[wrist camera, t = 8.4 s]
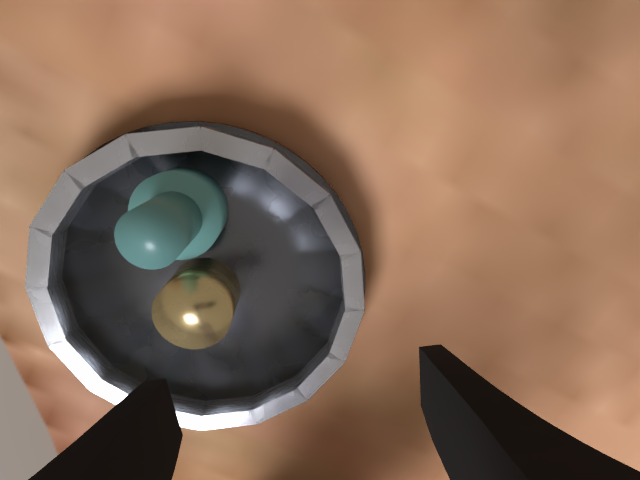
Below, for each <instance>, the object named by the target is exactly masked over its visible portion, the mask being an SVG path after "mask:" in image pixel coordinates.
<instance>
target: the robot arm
mask: <svg viewBox="0 0 640 480" xmlns="http://www.w3.org/2000/svg"><path fill="white" fill-rule="evenodd" d="M419 358H420V390H421V407H422V410H423V413H424V416H425V419H426V423H427V426H428V429H429V432H430V435H431V437H432V440H433V443H434V445H435V447H436V450H437V452H438V454H439V456H440V458H441V461H442V463H443V465H444V467H445V469H446V472H447V474H448V476H449V478H450V480H640V472H639V471H637V470H635V469H633V468H631V467H629V466H627V465H625V464H623V463H621V462H619V461H617V460H615V459H613V458H611V457H609V456H607V455H605V454H603V453H601V452H600V451H598V450H596V449H594V448H592V447H590V446H588V445H586V444H585V443H583V442H581V441H579V440H578V439H576V438H574V437H572V436H571V435H569V434H567V433H565V432H564V431H562V430H560V429H558V428H557V427H555V426H553V425H552V424H550V423H548V422H547V421H545V420H543V419H542V418H540V417H539V416H537V415H536V414H534V413H533V412H531V411H530V410H528V409H527V408H525V407H523V406H522V405H520V404H519V403H517V402H516V401H514V400H513V399H512V398H510V397H509V396H507V395H506V394H504V393H503V392H502V391H500V390H499V389H497V388H496V387H495V386H493V385H492V384H491V383H489V382H488V381H487V380H485V379H484V378H483V377H481V376H480V375H479V374H477V373H476V372H475V371H474V370H472V369H471V368H470V367H468V366H467V365H466V364H465V363H463V362H462V361H461V360H460V359H458V358H457V357H456V356H455V355H453V354H452V353H451V352H450V351H448V350H447V349H446V348H445V347H443V346H442V345H441V344H440V345H432V346H424V347H419ZM182 436H183V435H182V431H181V428H180V425H179V421H178V418H177V414H176V411H175V407H174V404H173V401H172V397H171V394H170V390H169V387H168V384H167V380H166V378H165V379H157V380H149V381H144V382H143V383H141V384H140V385H139V386H138V387H136V388H135V389H134V390H133V391H132V392H131V393H129V394H128V395H127V396H126V397H125V398H124V399H122V400H121V401H120V402H119V403H118V404H117V405H116V406H115V407H113V408H112V409H111V410H110V411H109V412H108V413H107V414H106V415H104V416H103V417H102V418H101V419H100V420H99V421H98V422H97V423H95V424H94V425H93V426H92V427H91V428H90V429H89V430H87V431H86V432H85V433H84V434H83V435H82V436H81V437H79V438H78V439H77V440H76V441H75V442H74V443H72V444H71V445H70V446H69V447H68V448H66V449H65V450H64V451H63V452H61V453H60V454H59V455H58V456H57V457H55V458H54V459H53V460H52V461H51V462H49V463H48V464H47V465H46V466H45V467H44V468H42V469H41V470H40V471H39V472H37V473H36V474H35V475H34V476H32V477H31V478H30V479H28V480H171V479H172V476H173V473H174V469H175V466H176V462H177V458H178V453H179V449H180V445H181V440H182Z"/></svg>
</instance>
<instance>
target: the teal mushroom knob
mask: <svg viewBox="0 0 640 480" xmlns="http://www.w3.org/2000/svg"><path fill="white" fill-rule="evenodd" d="M228 213H229V206H228V201H227V197H226V195H225V193H224V190H223V189H222V187H221V186H220V185H219V183H218V182H217V181H216V180H215V179H214V178H213V177H211V176H210V175H209V174H207V173H205V172H204V171H201V170H199V169H196V168H192V167H175V168H171V169H168V170H166V171H163V172H161V173H158V174H156V175H153V176H151V177H149V178H147V179H145V180H144V181H143V182H141V183H140V184H139V185H138V186H137V187H136V189H135V190H134V191H133V193H132V195H131V197H130V201H129V205H128V212H126V213H125V214H123V215H122V216H121V217H120V219H119V220H118V222H117V224H116V226H115V231H114V239H115V243H116V246H117V248H118V250H119V252H120V253H121V255H122V256H123V257H124V258H125V259H126V260H127V261H128V262H130V263H131V264H133V265H135V266H137V267H140V268H143V269H149V270H155V269H161V268H164V267H167V266H168V265H170V264H171V263H173V262H174V261H175V260H187V259H191V258H194V257H197V256H199V255H201V254H203V253H204V252H206V251H207V250H208V249H209V248H210V247H211V246H212V245H213V243H214V242H215V241H216V239H217V238H218V236H219V235H220V233H221V232H222V230H223V229H224V227H225V225H226V222H227V219H228Z"/></svg>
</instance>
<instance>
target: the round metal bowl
mask: <svg viewBox="0 0 640 480" xmlns="http://www.w3.org/2000/svg"><path fill="white" fill-rule="evenodd" d="M175 167H192V168H196V169H199V170H201V171H204V172H205V173H207V174H209V175H210V176H211V177H213V178H214V179H215V180H216V181H217V182H218V183H219V185H220V186H221V187H222V189H223V190H224V193H225V195H226V197H227V201H228V206H229V213H228V219H227V222H226V225H225V227H224V229H223V230H222V232H221V233H220V235H219V236H218V238H217V239H216V241H215V242H214V243H213V245H212V246H211V247H210V248H209V249H208V250H207V251H206V252H204V253H203V254H201V255H199V256H197V257H194V258H191V259H187V260H175V261H174V262H173V263H171V264H170V265H168V266H167V267H164V268H161V269H155V270H149V269H143V268H140V267H137V266H135V265H133V264H131V263H130V262H128V261H127V260H126V259H125V258H124V257H123V256H122V255H121V253H120V252H119V250H118V248H117V246H116V243H115V239H114V231H115V226H116V224H117V222H118V220H119V219H120V217H121V216H122V215H123V214H125V213H126V212H128V205H129V201H130V197H131V195H132V193H133V191H134V190H135V189H136V187H137V186H138V185H139V184H140V183H141V182H143V181H144V180H145V179H147V178H149V177H151V176H153V175H156V174H158V173H161V172H163V171H166V170H168V169H171V168H175ZM25 287H26V288H25V289H26V291H27V294H28V296H29V299H30V302H31V304H32V307H33V309H34V312H35V314H36V317H37V320H38V322H39V325H40V327H41V330H42V333H43V335H44V338H45V340H46V343H47V345H48V346H49V347H50V349H51V350H52V351H53V352H54V353H55V354H56V355H57V356H58V357H59V358H60V359H61V360H62V362H63V363H64V364H65V365H66V366H67V367H68V368H69V369H70V370H71V371H72V372H73V373H74V374H75V376H76V377H77V378H78V379H79V380H80V381H81V382H82V383H83V384H84V385H85V386H86V387H87V389H88V390H90V389H91V390H90V391H91V392H93V393H95V394H97V395H99V396H101V397H102V398H104V399H106V400H108V401H110V402H112V403H113V404H115V405H117V404H118V403H119V402H120V401H121V400H122V399H124V398H125V397H126V396H127V395H128V394H129V393H131V392H132V391H133V390H134V389H135V388H136V387H138V386H139V385H140V384H141V383H143V382H144V381H149V380H157V379H165V378H166V380H167V384H168V387H169V390H170V394H171V397H172V401H173V404H174V407H175V411H176V414H177V418H178V421H179V425H180V427H185V428H190V429H195V430H200V429H201V430H210V429H219V428H228V427H237V426H246V425H254V424H257V423H258V424H259V423H261V422H263V421H265V420H267V419H270V418H272V417H274V416H276V415H278V414H280V413H282V412H285V411H287V410H289V409H291V408H293V407H295V406H297V405H300V404H302V403H304V402H306V401H307V400H309V399H310V398H311V397H312V396H313V395H314V394H315V393H316V392H317V390H318V389H319V388H320V387H321V386H322V385H323V384H324V383H325V382H326V381H327V380H328V379H329V378H330V377H331V376H332V375H333V374H334V373H335V372H336V371H337V370H338V369H339V368H340V367H341V366H342V365H343V364H344V363H345V361H346V358H347V356H348V353H349V351H350V348H351V345H352V343H353V340H354V337H355V335H356V332H357V330H358V327H359V324H360V322H361V319H362V317H363V314H364V310H365V307H364V293H365V269H364V261H363V254H362V250H361V246H360V243H359V239H358V236H357V233H356V230H355V228H354V226H353V224H352V221H351V219H350V217H349V215H348V212H347V211H346V209H345V207H344V206H343V204H342V202H341V201H340V199H339V197H338V196H337V194H336V193H335V192H334V190H333V189H332V188H331V187H330V185H329V184H328V183H327V182H326V181H325V179H324V178H323V177H322V176H321V175H320V174H319V173H318V172H317V171H316V170H315V169H314V168H313V167H311V166H310V165H309V164H308V163H307V162H306V161H305V160H303V159H302V158H300V157H299V156H298V155H296V154H295V153H293V152H292V151H291V150H289V149H288V148H286V147H284V146H282V145H280V144H279V143H277V142H275V141H273V140H271V139H269V138H267V137H265V136H262V135H259V134H257V133H254V132H252V131H249V130H246V129H242V128H238V127H234V126H230V125H225V124H219V123H209V122H172V123H165V124H159V125H154V126H148V127H144V128H141V129H138V130H135V131H132V132H129V133H126V134H123V135H121V136H119V137H117V138H115V139H113V140H111V141H109V142H107V143H105V144H103V145H102V146H101V147H99V148H98V149H96V150H95V151H93V152H92V153H91V154H89V155H88V156H86V157H85V158H84V159H82V160H81V161H79V162H77V163H76V164H74V165H72V166H70V167H69V168H67V169H65V171H63V173H62V174H61V176H60V178H59V179H58V181H57V182H56V184H55V186H54V187H53V189H52V190H51V192H50V194H49V195H48V197H47V199H46V200H45V202H44V203H43V205H42V207H41V208H40V210H39V211H38V213H37V215H36V216H35V218H34V219H33V221H32V223H31V224H30V226H29V240H28V255H27V269H26V283H25Z"/></svg>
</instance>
